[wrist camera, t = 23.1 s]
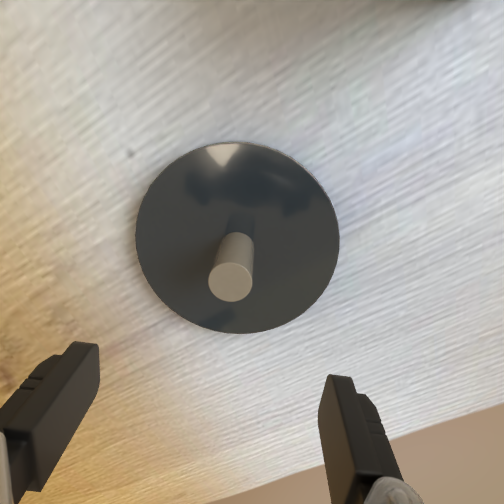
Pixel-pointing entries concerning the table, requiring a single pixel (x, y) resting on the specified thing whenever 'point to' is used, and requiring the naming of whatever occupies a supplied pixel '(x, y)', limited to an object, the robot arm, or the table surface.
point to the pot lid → (237, 237)
